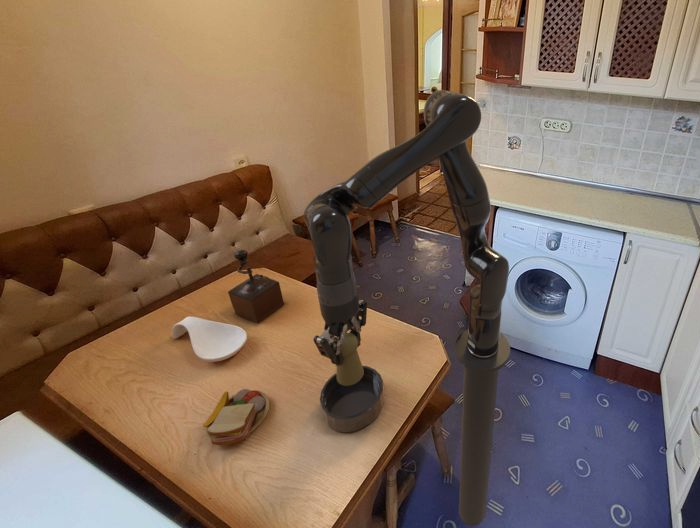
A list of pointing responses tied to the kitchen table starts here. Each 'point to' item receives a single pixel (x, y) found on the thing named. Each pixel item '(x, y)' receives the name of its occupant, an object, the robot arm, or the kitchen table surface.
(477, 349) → the robot arm
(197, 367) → the kitchen table surface
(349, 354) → the cork
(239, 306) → the dark brown coffee grinder
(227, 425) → the toy sandwich meal
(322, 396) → the dark grey bowl
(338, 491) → the kitchen table surface
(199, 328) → the spoon rest
